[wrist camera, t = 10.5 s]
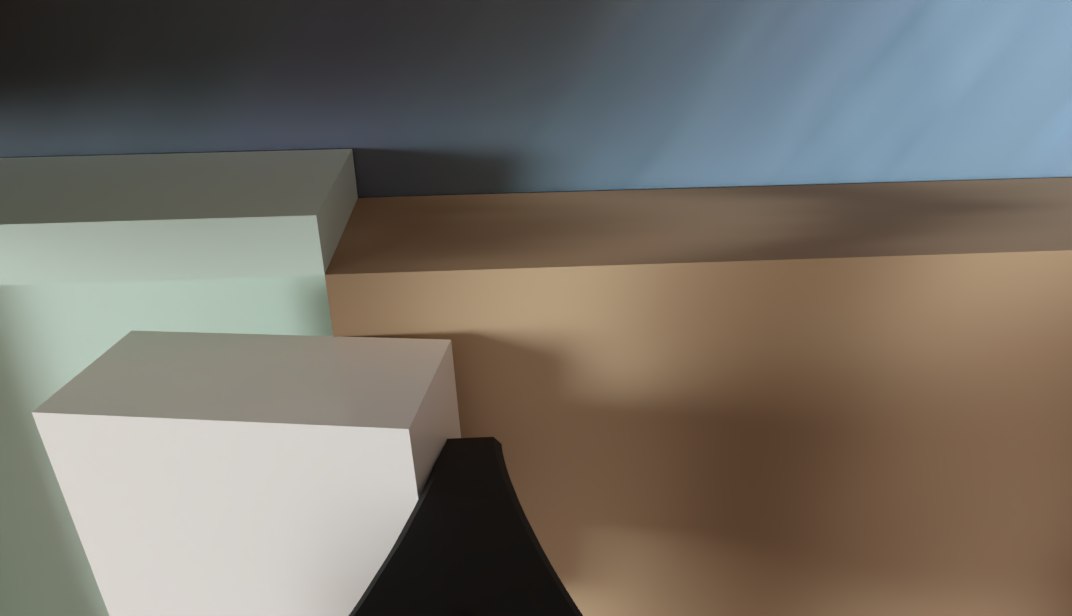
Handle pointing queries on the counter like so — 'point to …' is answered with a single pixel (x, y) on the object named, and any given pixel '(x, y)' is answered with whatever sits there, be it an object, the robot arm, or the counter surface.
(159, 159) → the box
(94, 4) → the counter surface
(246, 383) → the tile
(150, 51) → the counter surface
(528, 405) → the board
